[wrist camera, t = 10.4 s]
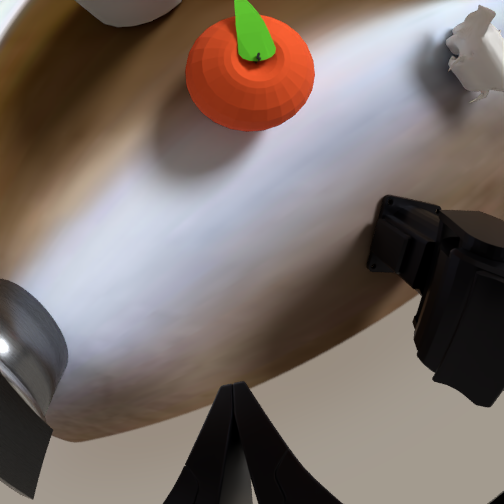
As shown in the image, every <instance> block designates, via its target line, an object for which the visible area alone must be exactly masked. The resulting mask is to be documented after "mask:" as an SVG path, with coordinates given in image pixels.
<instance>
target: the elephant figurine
mask: <svg viewBox="0 0 504 504" xmlns="http://www.w3.org/2000/svg"><path fill="white" fill-rule="evenodd" d="M495 15H496V13H495V12H494V11H493V10H491V9H489V8H486V7H483V6H481V5H479V6H478V10H477V11H475V12H472V13H470V14H469V15H468V16H467V17H466V19H465V21H464V22H463V23H460V24H459V25H457V26H456V27H455V28H453V30H452V32H453V35H452V36H451V37H449V38H448V39H447V40H446V45H447V46H448V48H449V49H450V51H451V52H452V53H453V54H455V55H459V57H458V58H457V59H456V58H455V57H454V56H452V57H451V58H450V60H449V63H448V65H449V67H450V68H449V71H450V69H451V70H452V72H453V73H454V74H455V75H456V76H457V78H458V79H459V81H460V82H461V84H462V86H463V87H464V88H465V89H466V90H468V91H473V92H478V91H481V94H480V95H479V96H478V97H477V98H476V99H474V100H472V101H470V102H469V103H471V102H475V101H478V100H480V99H483V98H485V97H486V96H487V95H488V92H489V90H496V91H502V92H504V39H503V38H502V36H501V35H500V33H501V30H499V31H498V30H497V29H496V28H495V26H493V25H492V24H491V21H492V19H493V18H494V17H495ZM449 71H448V72H449ZM448 72H447V73H448Z"/></svg>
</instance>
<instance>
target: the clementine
mask: <svg viewBox="0 0 504 504" xmlns="http://www.w3.org/2000/svg"><path fill="white" fill-rule="evenodd" d="M234 3H235V16H234V17H231V18H227V19H224V20H221V21H219V22H217V23H216V24H214V25H212V26H211V27H209V28H207V29H206V30H205V31H204V32H203V33H202V34H201V35H200V36H199V37H198V38H197V39H196V41H195V43H194V45H193V47H192V48H191V50H190V52H189V55H188V60H187V64H186V70H185V73H186V85H187V88H188V91H189V93H190V96H191V98H192V101H193V102H194V103H195V104H196V106H197V107H198V108H199V110H200V111H201V112H202V113H203V114H204V115H206V116H207V117H208V118H210V119H211V120H212V121H214V122H215V123H217V124H220V125H222V126H224V127H227V128H229V129H233V130H240V131H246V132H249V131H261V130H266V129H269V128H272V127H275V126H278V125H280V124H282V123H283V122H285V121H286V120H288V119H290V118H291V117H293V116H294V115H295V114H296V113H297V112H298V111H299V110H300V109H301V107H302V106H303V105H304V104H305V103H306V101H307V99H308V97H309V95H310V93H311V91H312V88H313V83H314V77H315V72H314V63H313V59H312V56H311V54H310V51H309V49H308V47H307V45H306V43H305V42H304V41H303V39H302V38H301V37H300V35H299V34H298V33H297V32H296V31H294V30H293V29H292V28H291V27H289V26H288V25H287V24H285V23H283V22H281V21H279V20H276V19H274V18H272V17H267V16H262V15H259V13H258V12H257V11H256V10H255V8H254V7H253V6H252V5H251V4H250V3H249V2H248V1H247V0H234Z"/></svg>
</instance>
